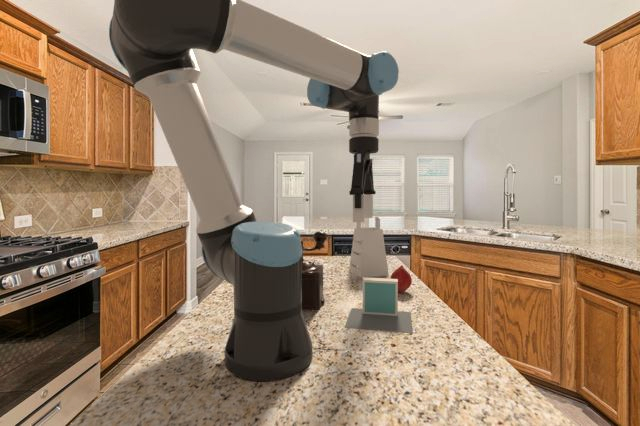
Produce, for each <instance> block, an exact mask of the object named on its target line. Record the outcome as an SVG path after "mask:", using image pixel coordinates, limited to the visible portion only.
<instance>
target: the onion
mask: <svg viewBox="0 0 640 426" xmlns="http://www.w3.org/2000/svg"><path fill="white" fill-rule="evenodd" d="M390 279H398V293H401V294H403V293H404V292H406V291H407V290H408V289H409V288H410V287H411V285H412V282H413V280H412V276H411V274H410V273H409V271H408V270H406V269H405V268H404V265H400V266H398V267H397V268H396V269H395V270H394V271H393V272H392V273H391V275H390Z"/></svg>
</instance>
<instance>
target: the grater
mask: <svg viewBox="0 0 640 426" xmlns="http://www.w3.org/2000/svg"><path fill="white" fill-rule="evenodd" d="M373 218H374V219H375V223H374V224H375V225H374V226H375V227H372V226H370V227H362V222H356V227H354V229H353V230H354V231H353V238H352V245H351V254H350V260H349V266H348V271H349V272H351V273H352V274H353V275H355V276H357V277H359V278H362V279H363V278H364V277H365V278H375V277H383V276H389V275H390V274H389V266H388V260H387V252H386V246H385V245H386V243H385V238H384V229H383V228H381V219H380V218H379V217H378V216H374V215H373Z"/></svg>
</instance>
